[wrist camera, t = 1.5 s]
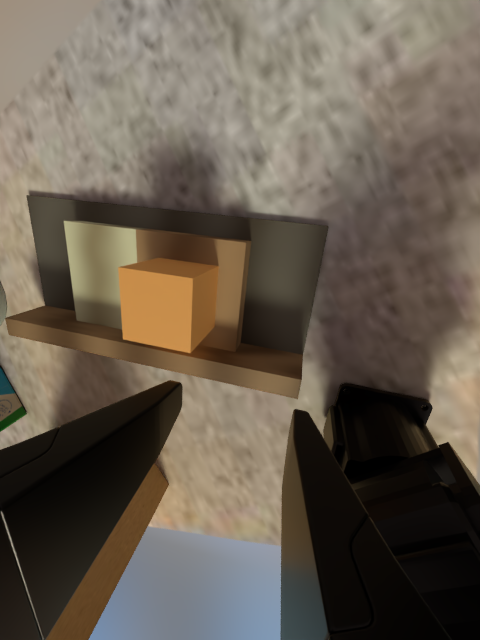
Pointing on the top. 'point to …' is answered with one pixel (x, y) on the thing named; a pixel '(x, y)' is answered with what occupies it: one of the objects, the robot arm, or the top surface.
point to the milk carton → (8, 404)
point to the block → (168, 302)
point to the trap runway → (184, 245)
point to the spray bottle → (2, 304)
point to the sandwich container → (110, 562)
